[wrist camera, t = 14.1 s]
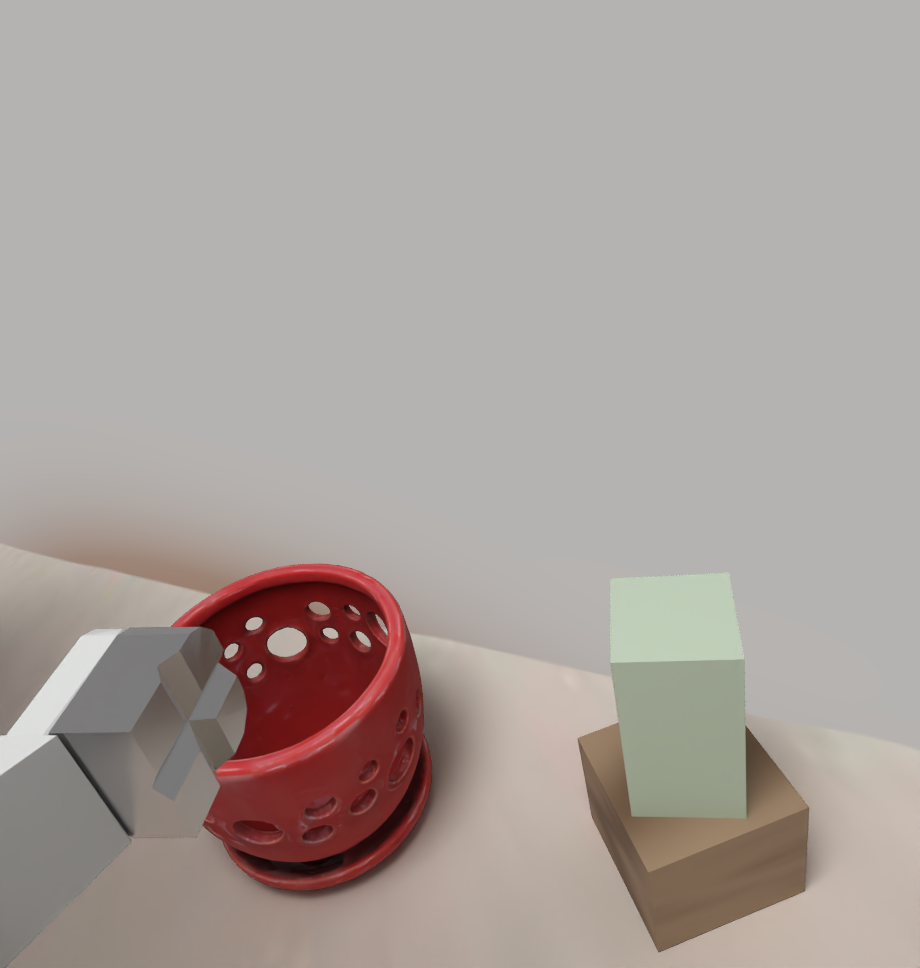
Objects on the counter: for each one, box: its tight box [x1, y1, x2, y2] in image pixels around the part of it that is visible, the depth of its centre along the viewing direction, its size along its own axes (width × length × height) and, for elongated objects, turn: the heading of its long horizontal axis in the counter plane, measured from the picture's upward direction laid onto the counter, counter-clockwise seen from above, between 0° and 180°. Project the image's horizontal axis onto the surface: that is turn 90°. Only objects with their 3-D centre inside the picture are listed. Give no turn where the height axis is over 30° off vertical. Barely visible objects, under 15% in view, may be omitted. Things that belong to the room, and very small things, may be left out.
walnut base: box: [578, 723, 809, 952], centre depth 36 cm, size 7×7×6 cm
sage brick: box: [610, 573, 747, 819], centre depth 32 cm, size 4×4×9 cm
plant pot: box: [171, 564, 432, 890], centre depth 41 cm, size 13×13×12 cm
